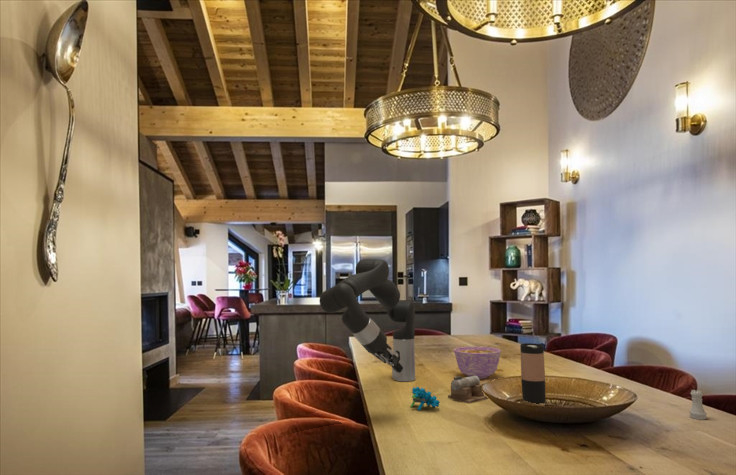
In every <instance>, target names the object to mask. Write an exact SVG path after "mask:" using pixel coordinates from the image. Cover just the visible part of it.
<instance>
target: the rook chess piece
mask: <svg viewBox="0 0 736 475" xmlns="http://www.w3.org/2000/svg"><path fill="white" fill-rule="evenodd" d="M690 395H691V400H692V401H691V402H692V403H691V408H690V410H689V413H690V414H688V415H689V417H690V418H691V419H694V420H698V421H699V420H700V421H701V420H703V421H704V420H706V419H708V417H707V412H706V411H705V409H704V406H703V398H702V397H703V396H704V394H703V393H702V390H699V389H697V390H696V389H691V392H690Z"/></svg>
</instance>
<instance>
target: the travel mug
mask: <svg viewBox="0 0 736 475" xmlns="http://www.w3.org/2000/svg"><path fill="white" fill-rule="evenodd" d="M544 349H545V348H544V344H541V343H533V342H532V343H531V342H529V343H525V342H524V343H521V344H520V371H521V372H520V378H521V379H520V380H521V393H522V400H523V399H524V400H525V401H528V402H531V403H536V404H539V403H545V404H546V370H545V367H546V366H545V352H544V351H545V350H544Z"/></svg>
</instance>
